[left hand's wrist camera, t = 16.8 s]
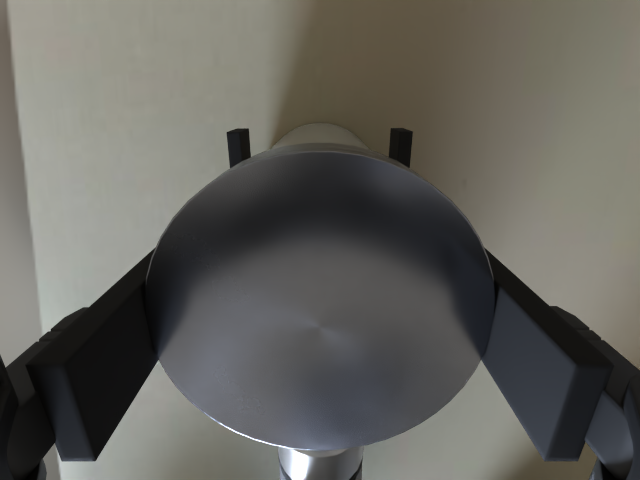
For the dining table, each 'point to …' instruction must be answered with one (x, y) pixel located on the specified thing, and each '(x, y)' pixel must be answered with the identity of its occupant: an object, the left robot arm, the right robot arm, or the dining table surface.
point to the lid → (319, 298)
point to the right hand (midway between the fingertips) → (319, 130)
